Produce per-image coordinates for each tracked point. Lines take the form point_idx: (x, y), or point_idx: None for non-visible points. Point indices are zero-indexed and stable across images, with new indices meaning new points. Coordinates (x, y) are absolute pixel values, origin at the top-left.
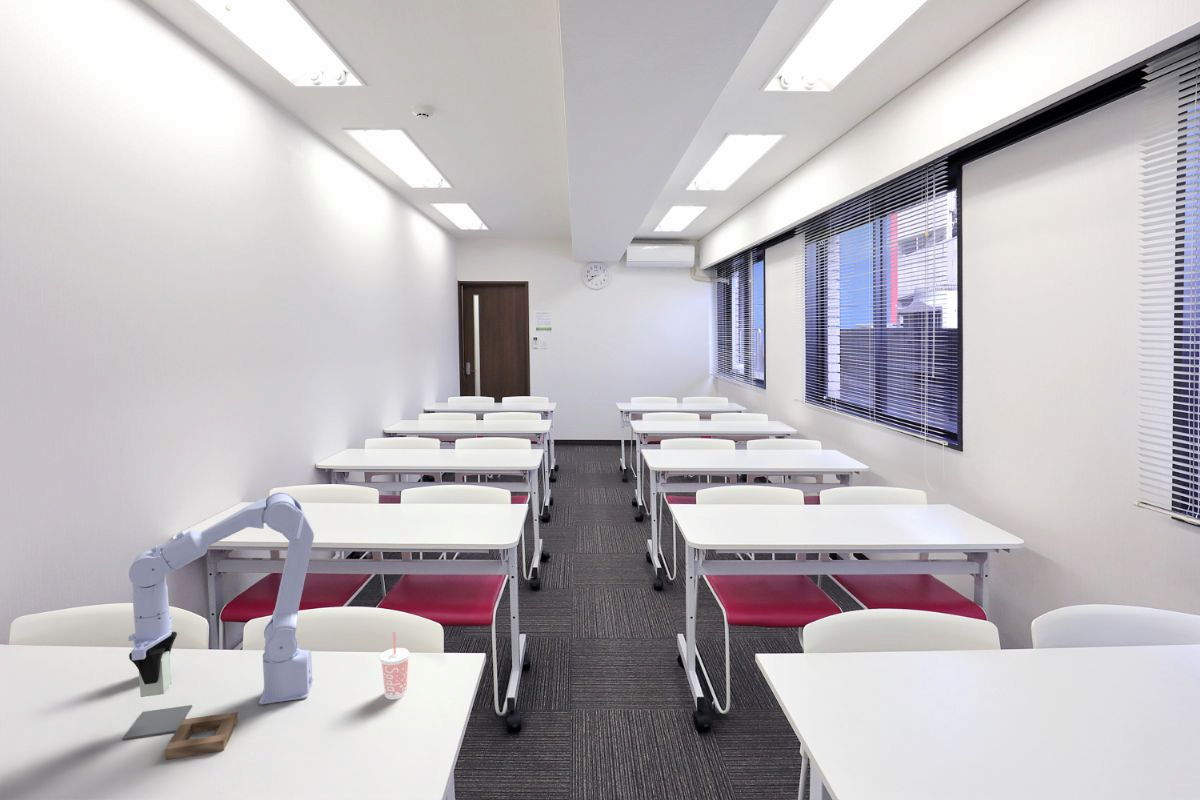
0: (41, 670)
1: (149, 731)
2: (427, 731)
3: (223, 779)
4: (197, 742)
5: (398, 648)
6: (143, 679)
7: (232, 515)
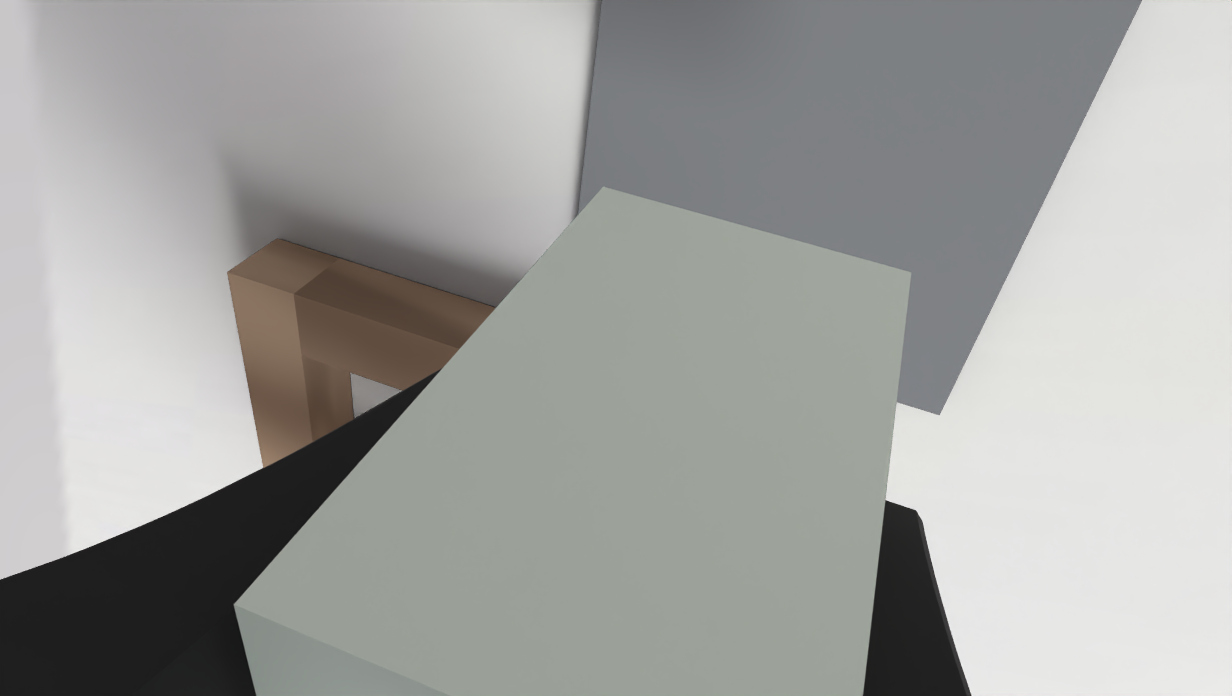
0: None
1: (635, 119)
2: None
3: (118, 443)
4: (270, 424)
5: None
6: (386, 406)
7: None
